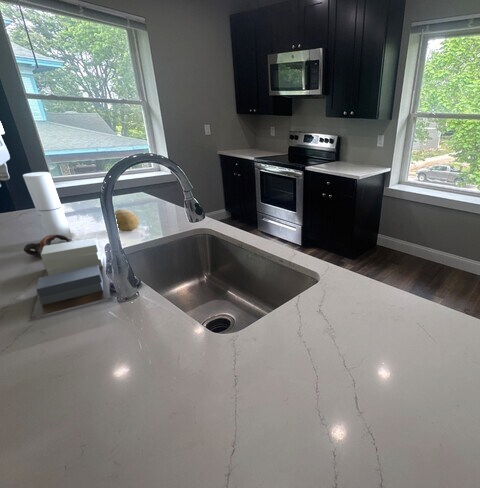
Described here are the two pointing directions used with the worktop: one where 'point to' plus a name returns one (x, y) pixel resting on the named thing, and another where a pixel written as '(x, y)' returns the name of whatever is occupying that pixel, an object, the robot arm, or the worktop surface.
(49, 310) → the shallow tray
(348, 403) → the worktop surface
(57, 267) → the white stack
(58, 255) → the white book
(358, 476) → the worktop surface
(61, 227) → the cylindrical container
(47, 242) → the pottery mug
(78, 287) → the grey stack
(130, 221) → the potato
